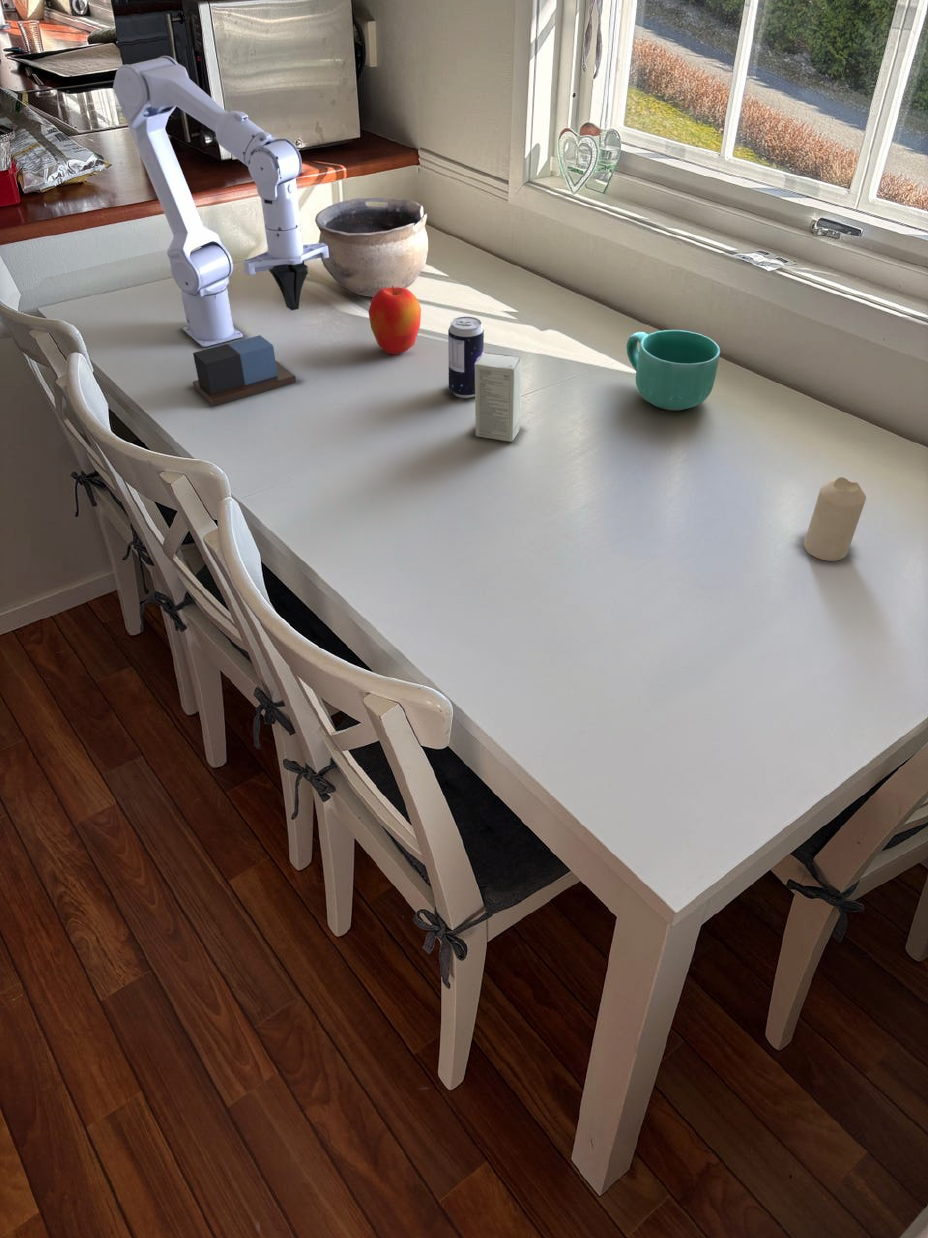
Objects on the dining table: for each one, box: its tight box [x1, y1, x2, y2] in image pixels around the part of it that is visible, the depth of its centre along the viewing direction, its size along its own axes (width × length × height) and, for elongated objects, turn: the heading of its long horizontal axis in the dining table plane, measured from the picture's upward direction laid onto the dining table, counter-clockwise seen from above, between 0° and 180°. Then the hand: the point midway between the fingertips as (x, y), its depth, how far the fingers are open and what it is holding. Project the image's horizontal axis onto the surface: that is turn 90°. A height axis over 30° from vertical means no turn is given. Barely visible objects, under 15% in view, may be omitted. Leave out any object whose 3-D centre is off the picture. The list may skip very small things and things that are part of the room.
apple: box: [368, 286, 422, 355], centre depth 162 cm, size 9×9×12 cm
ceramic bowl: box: [314, 197, 429, 298], centre depth 183 cm, size 22×22×15 cm
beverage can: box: [447, 316, 485, 399], centre depth 150 cm, size 6×6×12 cm
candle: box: [803, 476, 867, 562], centre depth 118 cm, size 6×6×10 cm
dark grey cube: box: [192, 343, 245, 395], centre depth 151 cm, size 5×6×6 cm
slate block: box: [227, 334, 277, 385], centre depth 154 cm, size 6×5×6 cm
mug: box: [625, 329, 721, 412], centre depth 150 cm, size 17×13×10 cm
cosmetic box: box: [474, 351, 522, 443], centre depth 140 cm, size 6×4×12 cm
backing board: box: [192, 359, 297, 407], centre depth 155 cm, size 8×15×1 cm, turn 125°
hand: (292, 307), depth 157 cm, fingers closed
